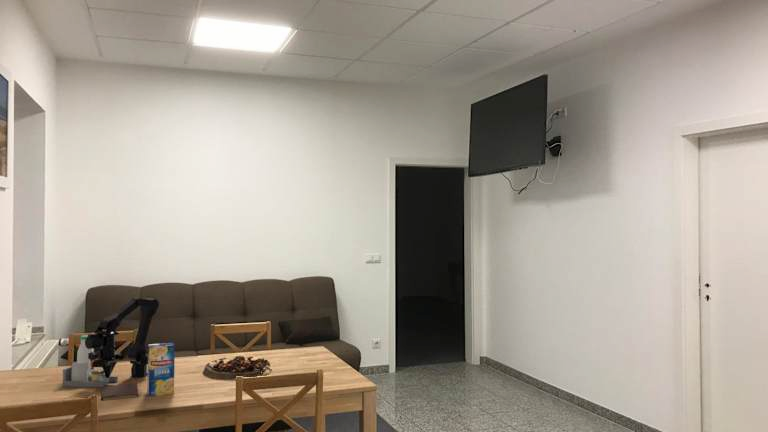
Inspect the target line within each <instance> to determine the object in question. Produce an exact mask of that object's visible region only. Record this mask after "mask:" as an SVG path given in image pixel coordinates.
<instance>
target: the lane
mask: <svg viewBox="0 0 768 432" xmlns="http://www.w3.org/2000/svg"><path fill="white" fill-rule="evenodd" d="M71 373H72V365H71V366H69V367H66V368H64V369H62V387H63V388H65V387H69V388H70V387H71V388H72V387H76V388H80V387H81V388H102V386H105V385H109V383H117V382H118V381H119V380H118V378H119V376H118V375H117V376H116V375H115V376H114V375H113V376H112V375H110V382H108V381H92V375H91V376H88V381H71Z"/></svg>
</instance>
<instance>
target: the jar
mask: <svg viewBox="0 0 768 432" xmlns="http://www.w3.org/2000/svg"><path fill="white" fill-rule="evenodd" d="M91 374H92V375H91V376H92V381H99V376H101V375H103V374H105V373H104V370H103V368H102V369H100V368H99V369H94V370H93V371H91Z"/></svg>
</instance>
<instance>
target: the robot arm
mask: <svg viewBox="0 0 768 432" xmlns="http://www.w3.org/2000/svg"><path fill="white" fill-rule="evenodd" d="M139 307H140V312H141V319H140V322H139V326H138V330H137V333H136V337H135V339H134V343H133V344H132V345H128V347H127V348H128V350H127V351H126V354H127V355H126V357H127V359H128V361H129V363H130V364H131V370H130V378H145V377H146V376H148V355H146V353H147V349H146V343H147V342H146V341H147V337H148V333H149V330H150V326H151V322H152V320H153V317H154V315H155V314H156V313H157V311H158V309H159V307H160V302H159V301H158V299H156V298H148V297H146V298H140V297H133V298H131V300H130V301H128V302H127V303H126V304H125V305H124V306H122V307H121V308H120V309H119V310H117V311H116V312H115V313H114V314H111V315H108V316H107V317H104V318H103V319H102V320H100V322H99V325H98V327H96V330H95V331H94V333H88V334H87V335H88V337H87V338H86V340H85V346H86V348H87V349H92V348H93V349H96V348H98V351H96V352H95V351H94V352H90V353H89V354H88V359H90V360H91V361H93V360H94V362H93V363H92V367H94V368H102V369H103V370H104V374H105V376H106V378H109V377H110V376H112V373H113V370H114V369H115V366H116V365H117V363H118V362H117V361H115V360H117V359H118V360H119V361H120V360H123V357H124V355H123V354H122V352H115V351H116V349H117V346H116V345H115V343H116V342H115V339H116V336H118V335H119V334H120V333H119V332H118V331H117V329H118V328H119V327H120V326H121V322H122V321H123V320H124V319H126V317H129V316H130V314H132V313H133V312H134V311H135V310H137V308H139Z"/></svg>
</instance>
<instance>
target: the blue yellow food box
mask: <svg viewBox="0 0 768 432" xmlns="http://www.w3.org/2000/svg"><path fill="white" fill-rule="evenodd" d="M175 346H176V345H175V343H174V342H167V343H166V342H162V343H151V344H147V357H148V364H147V373H148V375H147V382H146V383H147V385H146V387H147V390H146V391H147V396H148V397H156V396H165V395H166V396H167V395H173V394H175V359H176V358H175V354H176V353H175V352H176V350H175V348H176V347H175Z"/></svg>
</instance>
